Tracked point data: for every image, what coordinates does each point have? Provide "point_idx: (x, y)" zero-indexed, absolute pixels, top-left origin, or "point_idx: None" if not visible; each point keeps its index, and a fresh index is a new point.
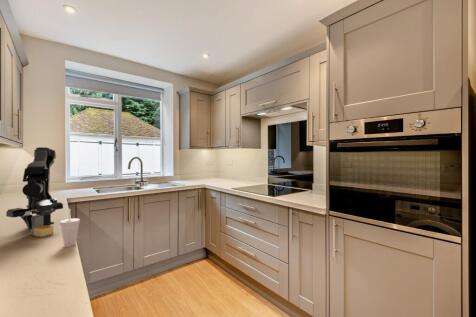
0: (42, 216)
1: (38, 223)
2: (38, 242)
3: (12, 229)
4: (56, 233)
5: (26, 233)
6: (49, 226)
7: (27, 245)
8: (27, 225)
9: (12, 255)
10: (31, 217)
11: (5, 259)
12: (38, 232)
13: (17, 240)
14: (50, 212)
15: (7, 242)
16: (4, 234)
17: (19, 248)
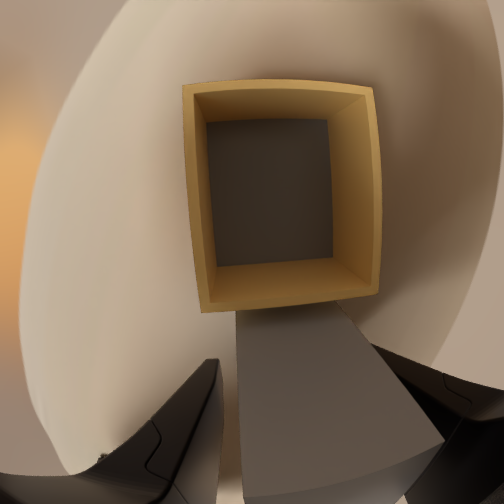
0: (266, 476)
1: (324, 353)
2: (381, 24)
3: None
4: (160, 135)
5: None
6: (198, 185)
7: (436, 46)
8: None
9: (477, 10)
10: (500, 414)
11: (487, 6)
12: (355, 162)
13: (439, 247)
14: (30, 496)
15: (471, 259)
16: None
17: (465, 49)
